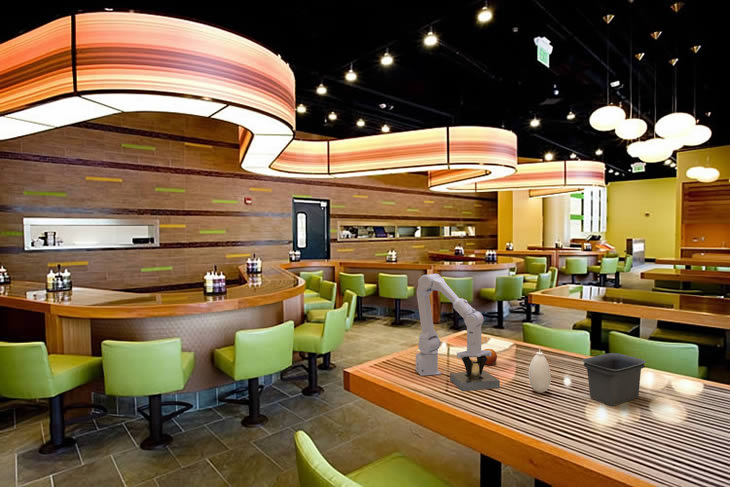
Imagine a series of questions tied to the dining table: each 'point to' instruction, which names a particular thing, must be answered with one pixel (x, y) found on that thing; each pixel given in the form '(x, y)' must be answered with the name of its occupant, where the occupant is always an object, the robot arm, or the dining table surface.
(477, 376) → the bushing
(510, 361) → the dining table surface
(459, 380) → the jig
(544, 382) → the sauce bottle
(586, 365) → the storage bin
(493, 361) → the fruit
